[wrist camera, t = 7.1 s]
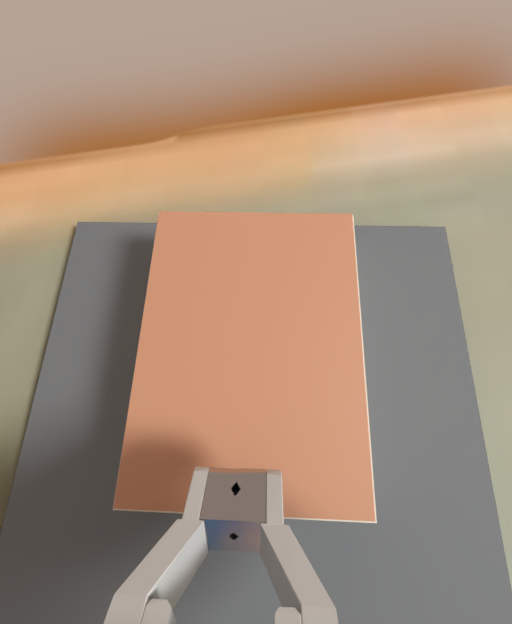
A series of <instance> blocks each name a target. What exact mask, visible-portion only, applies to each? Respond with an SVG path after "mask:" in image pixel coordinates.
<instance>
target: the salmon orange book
mask: <svg viewBox="0 0 512 624" xmlns="http://www.w3.org/2000/svg"><path fill="white" fill-rule="evenodd" d="M196 466H200V467H217V468H248V469H266V470H267V469H273V470H281V472H282V490H283V517H284V519H301V520H321V521H341V522H361V523H377V518H376V505H375V492H374V479H373V465H372V452H371V439H370V426H369V413H368V400H367V387H366V374H365V361H364V348H363V334H362V321H361V308H360V295H359V282H358V269H357V256H356V243H355V230H354V217H353V215H352V214H327V213H241V212H159V214H158V220H157V227H156V233H155V240H154V246H153V253H152V259H151V265H150V272H149V278H148V285H147V291H146V298H145V304H144V311H143V317H142V324H141V330H140V337H139V343H138V350H137V356H136V362H135V369H134V375H133V382H132V388H131V395H130V401H129V408H128V414H127V421H126V427H125V434H124V440H123V447H122V453H121V460H120V466H119V472H118V479H117V485H116V492H115V498H114V505H113V510H120V511H140V512H160V513H180V514H183V511H184V507H185V503H186V499H187V495H188V491H189V487H190V483H191V479H192V475H193V471H194V469H195V467H196Z"/></svg>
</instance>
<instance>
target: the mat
mask: <svg viewBox="0 0 512 624" xmlns="http://www.w3.org/2000/svg"><path fill="white" fill-rule="evenodd" d="M156 227H157V223H116V222H78V223H77V227H76V231H75V235H74V239H73V243H72V247H71V251H70V255H69V259H68V263H67V267H66V271H65V275H64V279H63V283H62V287H61V291H60V295H59V299H58V304H57V308H56V312H55V316H54V320H53V324H52V328H51V332H50V336H49V340H48V344H47V348H46V352H45V356H44V360H43V364H42V368H41V372H40V376H39V380H38V384H37V388H36V392H35V396H34V400H33V404H32V408H31V412H30V416H29V420H28V425H27V429H26V433H25V437H24V441H23V445H22V449H21V453H20V457H19V461H18V465H17V469H16V473H15V477H14V481H13V485H12V489H11V493H10V497H9V501H8V505H7V509H6V513H5V517H4V521H3V525H2V529H1V533H0V624H103V623H104V621H105V618H106V615H107V612H108V610H109V607H110V604H111V601H112V599H113V596H114V594H115V593H116V591H117V590H118V589H119V588H120V587H121V585H122V584H123V583H124V582H125V581H126V579H127V578H128V577H129V576H130V575H131V573H132V572H133V571H134V570H135V569H136V567H137V566H138V565H139V564H140V563H141V562H142V560H143V559H144V558H145V557H146V556H147V554H148V553H149V552H150V551H151V550H152V548H153V547H154V546H155V545H156V544H157V542H158V541H159V540H160V539H161V538H162V536H163V535H164V534H165V533H166V532H167V530H168V529H169V528H170V527H171V526H172V525H173V523H174V522H175V521H176V520H177V519H182V515H183V514H180V513H160V512H140V511H120V510H113V505H114V498H115V492H116V485H117V479H118V472H119V466H120V460H121V453H122V447H123V440H124V434H125V427H126V421H127V414H128V408H129V401H130V395H131V388H132V382H133V375H134V369H135V362H136V356H137V350H138V343H139V337H140V330H141V324H142V317H143V311H144V304H145V298H146V291H147V285H148V278H149V272H150V265H151V259H152V253H153V246H154V240H155V233H156ZM354 230H355V243H356V256H357V269H358V282H359V295H360V308H361V321H362V334H363V348H364V361H365V374H366V387H367V400H368V413H369V426H370V439H371V452H372V465H373V479H374V492H375V505H376V518H377V523H361V522H341V521H321V520H301V519H284V524H286V525H289V527H290V529H291V530H292V532H293V534H294V536H295V537H296V539H297V541H298V543H299V544H300V546H301V548H302V550H303V551H304V553H305V555H306V557H307V558H308V560H309V562H310V564H311V565H312V567H313V569H314V571H315V572H316V574H317V576H318V578H319V579H320V581H321V583H322V585H323V587H324V588H325V590H326V592H327V594H328V595H329V597H330V599H331V601H332V602H333V604H334V606H335V608H336V611H337V618H338V624H512V590H511V585H510V579H509V574H508V568H507V563H506V558H505V552H504V547H503V541H502V536H501V530H500V525H499V519H498V514H497V508H496V503H495V497H494V492H493V486H492V481H491V475H490V470H489V464H488V459H487V453H486V448H485V442H484V437H483V431H482V426H481V420H480V415H479V409H478V404H477V399H476V393H475V388H474V382H473V377H472V371H471V366H470V360H469V355H468V349H467V344H466V338H465V333H464V327H463V322H462V316H461V311H460V305H459V300H458V294H457V289H456V283H455V278H454V272H453V267H452V261H451V256H450V251H449V245H448V240H447V234H446V229H445V227H421V226H354ZM279 607H282V606H281V603H280V601H279V598H278V596H277V594H276V591H275V589H274V586H273V584H272V582H271V579H270V577H269V574H268V572H267V570H266V567H265V565H264V562H263V560H262V558H261V555H260V553H256V552H244V551H235V550H234V551H229V550H208V554H207V555H206V557H205V559H204V560H203V562H202V563H201V565H200V567H199V568H198V570H197V571H196V573H195V575H194V576H193V578H192V580H191V581H190V583H189V584H188V586H187V588H186V589H185V591H184V592H183V594H182V596H181V597H180V599H179V601H178V602H177V604H176V605H175V607H174V609H173V610H172V611H173V614H174V617H175V620H176V623H177V624H274V618H275V613H276V611H277V610H278V608H279Z"/></svg>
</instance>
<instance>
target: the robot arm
mask: <svg viewBox="0 0 512 624" xmlns="http://www.w3.org/2000/svg"><path fill="white" fill-rule="evenodd" d="M208 550H229V551H234V550H235V551H244V552H256V553H260V555H261V558H262V560H263V562H264V565H265V567H266V570H267V572H268V574H269V577H270V579H271V582H272V584H273V586H274V589H275V591H276V594H277V596H278V598H279V601H280V603H281V606H282V607H279V608H278V610H277V611H276V613H275V618H274V624H338V618H337V611H336V608H335V606H334V604H333V602H332V601H331V599H330V597H329V595H328V594H327V592H326V590H325V588H324V587H323V585H322V583H321V581H320V579H319V578H318V576H317V574H316V572H315V571H314V569H313V567H312V565H311V564H310V562H309V560H308V558H307V557H306V555H305V553H304V551H303V550H302V548H301V546H300V544H299V543H298V541H297V539H296V537H295V536H294V534H293V532H292V530H291V529H290V527H289V525H286V524H284V517H283V490H282V472H281V470H273V469H267V470H266V469H248V468H217V467H200V466H196V467H195V469H194V471H193V475H192V479H191V483H190V487H189V491H188V495H187V499H186V503H185V507H184V511H183V515H182V519H177V520H176V521H175V522H174V523H173V525H172V526H171V527H170V528H169V529H168V530H167V532H166V533H165V534H164V535H163V536H162V538H161V539H160V540H159V541H158V542H157V544H156V545H155V546H154V547H153V548H152V550H151V551H150V552H149V553H148V554H147V556H146V557H145V558H144V559H143V560H142V562H141V563H140V564H139V565H138V566H137V567H136V569H135V570H134V571H133V572H132V573H131V575H130V576H129V577H128V578H127V579H126V581H125V582H124V583H123V584H122V585H121V587H120V588H119V589H118V590H117V591H116V593H115V594H114V596H113V599H112V601H111V604H110V607H109V610H108V612H107V615H106V618H105V621H104V623H103V624H177V623H176V620H175V617H174V614H173V611H172V610H173V609H174V607H175V605H176V604H177V602H178V601H179V599H180V597H181V596H182V594H183V592H184V591H185V589H186V588H187V586H188V584H189V583H190V581H191V580H192V578H193V576H194V575H195V573H196V571H197V570H198V568H199V567H200V565H201V563H202V562H203V560H204V559H205V557H206V555H207V554H208Z"/></svg>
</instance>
